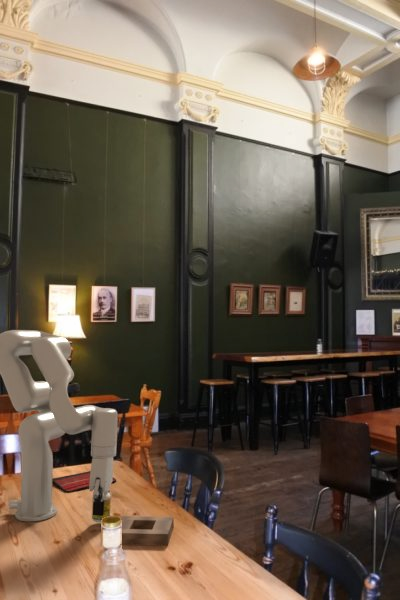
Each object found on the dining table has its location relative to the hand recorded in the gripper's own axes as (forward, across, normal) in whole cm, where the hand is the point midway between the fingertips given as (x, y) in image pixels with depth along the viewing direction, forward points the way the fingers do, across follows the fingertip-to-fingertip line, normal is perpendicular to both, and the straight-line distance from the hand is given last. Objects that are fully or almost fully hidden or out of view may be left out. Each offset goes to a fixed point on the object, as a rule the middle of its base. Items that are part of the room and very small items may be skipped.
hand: (101, 510), depth 144 cm
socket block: (+3, +7, +14) cm, 16 cm away
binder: (+6, -40, -18) cm, 44 cm away
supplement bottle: (+3, 0, 0) cm, 3 cm away
